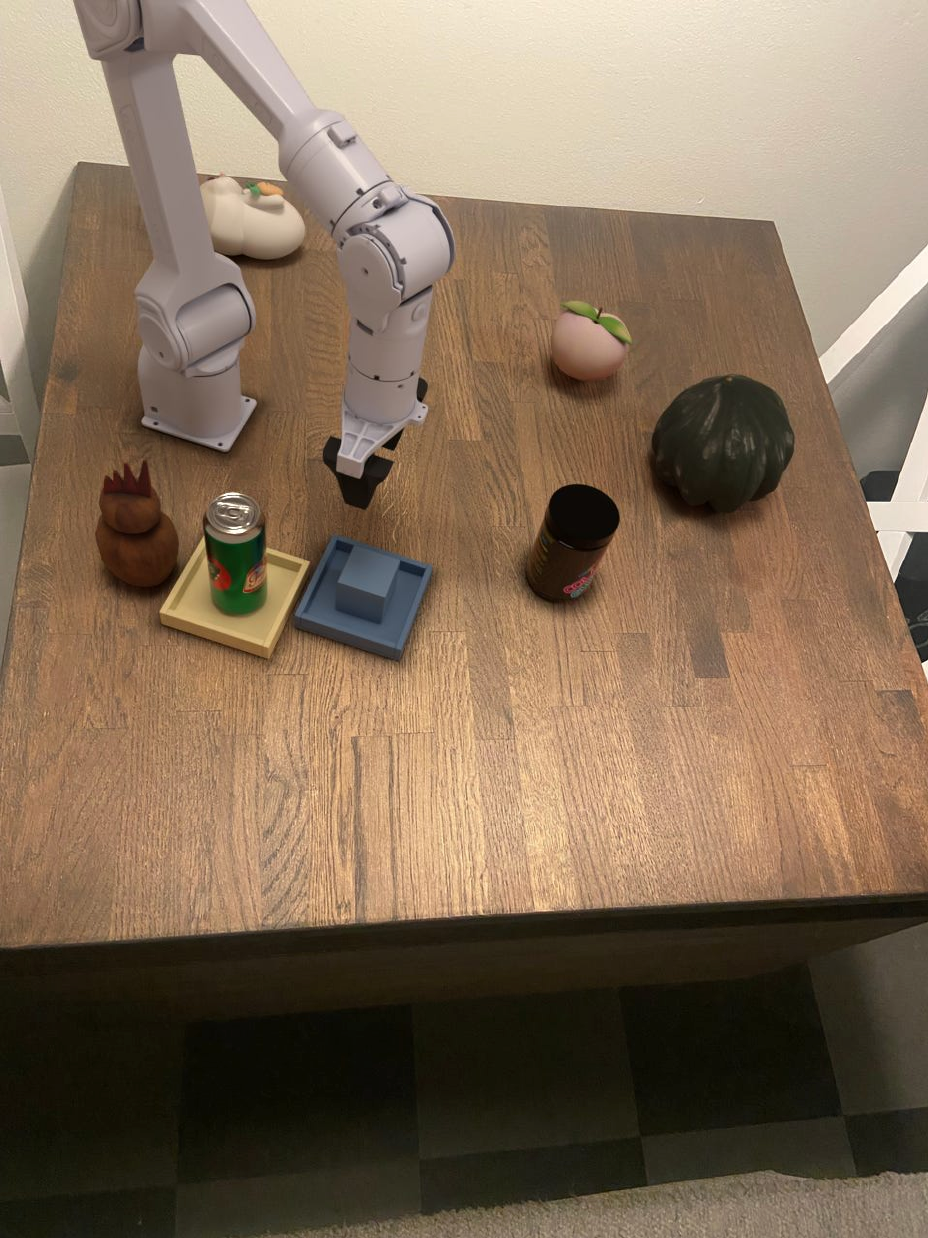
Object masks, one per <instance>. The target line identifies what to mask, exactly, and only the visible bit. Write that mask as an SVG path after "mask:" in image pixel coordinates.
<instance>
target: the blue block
mask: <svg viewBox="0 0 928 1238" xmlns="http://www.w3.org/2000/svg"><path fill="white" fill-rule="evenodd" d="M399 566H400V560H398V559H395V558H392V557H389V556H386V555H383V554H380V553H377V552H374V551H370V550H367V549H364V548H361V547H358V546H355V545H354V547H353V549H352V551H351V553H350V556H349V558H348V560H347V562H346V564H345V567H344V569H343V571H342V573H341V575H340V578H339V580H338V582H337V594H336V606H335V610H338V611H341V612H344V613H347V614H350V615H353V616H356V617H360V618H363V619H366V620H369V621H372V622H375V623H378V624H381V623H382V620H383V618H384V615H385V613H386V610H387V608H388V606H389V603H390V601H391V598H392V596H393V593H394V591H395V588H396V583H397V577H398V571H399Z"/></svg>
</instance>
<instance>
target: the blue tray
mask: <svg viewBox="0 0 928 1238" xmlns="http://www.w3.org/2000/svg"><path fill="white" fill-rule="evenodd" d="M354 545H355V546H358V547H361V548H364V549H367V550H370V551H374V552H377V553H380V554H383V555H386V556H389V557H392V558H395V559H398V560H400V566H399V571H398V577H397V583H396V588H395V591H394V593H393V596H392V598H391V601H390V603H389V606H388V608H387V610H386V613H385V615H384V618H383V620H382V623H381V624H378V623H375V622H372V621H369V620H366V619H363V618H360V617H356V616H353V615H350V614H347V613H344V612H341V611H338V610H335V606H336V594H337V582H338V580H339V578H340V575H341V573H342V571H343V569H344V567H345V564H346V562H347V560H348V558H349V556H350V553H351V551H352V549H353V547H354ZM433 570H434V565H432V564H428V563H425V562H424V561H423V562H422V561H419V560H416V559H413V558H410V557H407V556H405V555H401V554H398V553H394V552H391V551H389V550H386V549H382V548H380V547H377V546H374V545H370V544H367V543H364V542H361V541H359V540H355V539H352V538H349V537H346V536H342V535H340V534H336V533H333V534H332V535H331V537H330V540H329V541H328V543H327V546H326V548H325V549H324V552H323V554H322V556H321V557H320V560H319V563H318V565H317V566H316V569H315V570H314V573H313V575H312V577H311V579H310V581H309V584H308V586H307V588H306V590H305V592H304V593H303V596H302V598H301V600H300V602H299V605H298V606H297V609H296V611H295V613H294V617H293V624H294V625H293V627H294V628H295V629H299V630H302V631H304V632H305V631H306V632H308V633H311V634H315V635H317V636H320V637H324V638H327V639H329V640H332V641H335V642H338V643H342V644H345V645H348V646H351V647H354V648H358V649H360V650H363V651H366V652H369V653H372V654H376V655H379V656H381V657H384V658H388V659H391V660H394V661H397V662H400V660H401V658H402V655H403V652H404V650H405V647H406V645H407V642H408V639H409V637H410V634H411V632H412V630H413V629H412V628H413V626H414V623H415V621H416V618H417V616H418V613H419V610H420V609H421V605H422V602H423V600H424V598H425V594H426V591H427V589H428V586H429V584H430V582H431V578H432V574H433Z"/></svg>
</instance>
